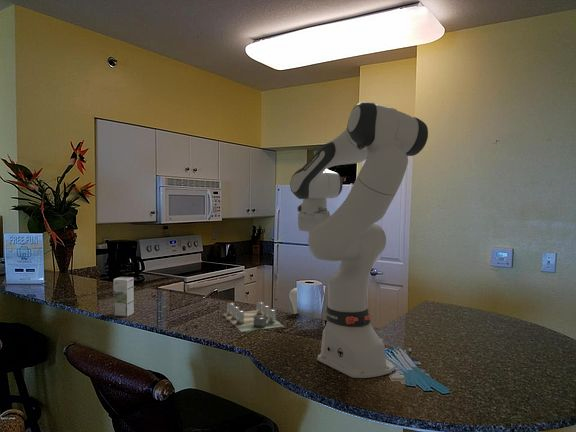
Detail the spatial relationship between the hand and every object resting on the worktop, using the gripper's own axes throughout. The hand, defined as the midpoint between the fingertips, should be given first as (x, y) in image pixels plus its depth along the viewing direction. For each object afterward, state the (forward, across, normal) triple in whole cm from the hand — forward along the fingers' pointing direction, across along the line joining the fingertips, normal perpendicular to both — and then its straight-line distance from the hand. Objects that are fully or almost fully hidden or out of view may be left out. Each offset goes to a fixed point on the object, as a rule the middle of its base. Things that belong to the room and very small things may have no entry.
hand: (314, 244), depth 154 cm
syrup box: (+29, +36, +64) cm, 79 cm away
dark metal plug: (+28, -1, +22) cm, 35 cm away
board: (+29, +8, +22) cm, 37 cm away
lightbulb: (+29, +9, +3) cm, 30 cm away
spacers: (+28, +10, +22) cm, 37 cm away
